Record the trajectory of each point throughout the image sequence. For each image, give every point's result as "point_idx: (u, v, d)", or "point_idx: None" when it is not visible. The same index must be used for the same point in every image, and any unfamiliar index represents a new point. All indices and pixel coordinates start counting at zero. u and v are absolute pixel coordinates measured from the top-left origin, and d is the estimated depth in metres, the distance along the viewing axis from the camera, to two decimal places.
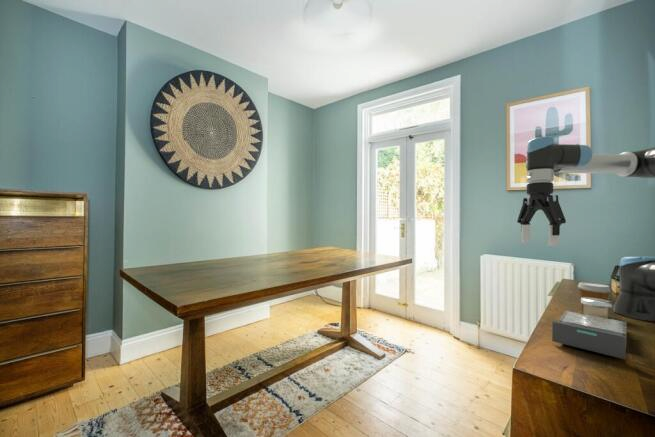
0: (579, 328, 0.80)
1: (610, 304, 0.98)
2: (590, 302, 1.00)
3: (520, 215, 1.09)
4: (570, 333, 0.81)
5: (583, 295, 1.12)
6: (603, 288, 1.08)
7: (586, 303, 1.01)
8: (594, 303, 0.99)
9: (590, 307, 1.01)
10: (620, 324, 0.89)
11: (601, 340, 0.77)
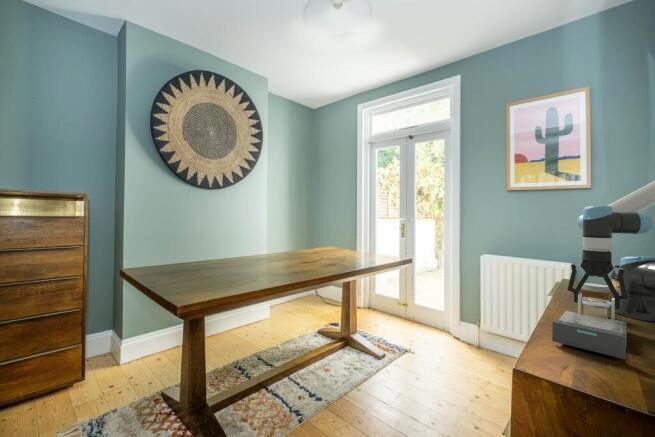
0: (579, 328, 0.80)
1: (610, 304, 0.98)
2: (590, 302, 1.00)
3: None
4: (570, 333, 0.81)
5: (583, 295, 1.12)
6: (603, 288, 1.08)
7: (586, 303, 1.01)
8: (594, 303, 0.99)
9: (590, 307, 1.01)
10: (620, 324, 0.89)
11: (601, 340, 0.77)
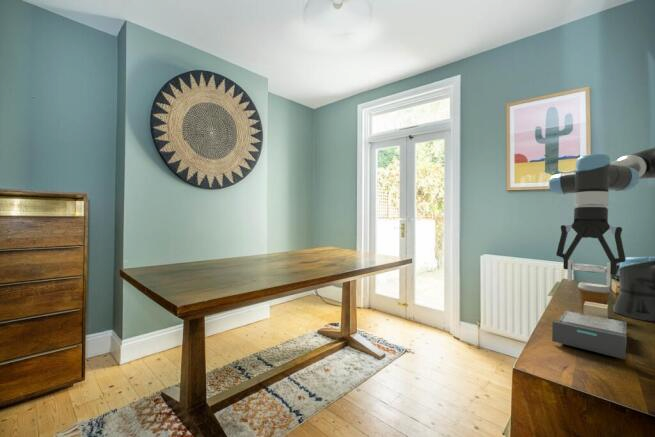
0: (579, 328, 0.80)
1: (605, 268, 0.83)
2: (581, 267, 0.85)
3: None
4: (570, 333, 0.81)
5: (583, 295, 1.12)
6: (603, 288, 1.08)
7: (577, 268, 0.86)
8: (586, 267, 0.84)
9: (590, 307, 1.01)
10: (620, 324, 0.89)
11: (601, 340, 0.77)
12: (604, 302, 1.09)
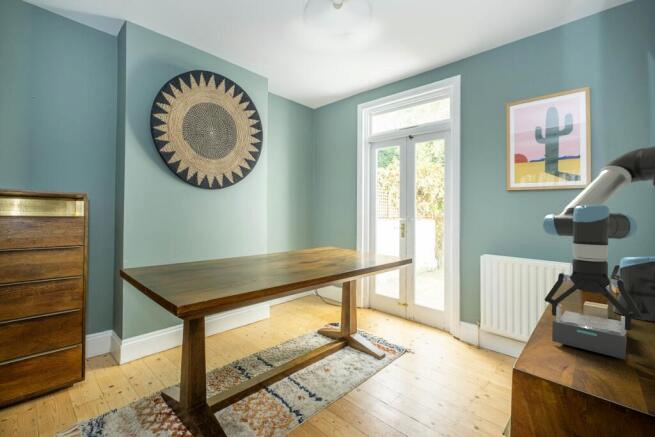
0: (579, 328, 0.80)
1: None
2: None
3: None
4: (570, 333, 0.81)
5: (583, 295, 1.12)
6: None
7: None
8: None
9: (590, 307, 1.01)
10: (620, 324, 0.89)
11: (601, 340, 0.77)
12: (604, 302, 1.09)
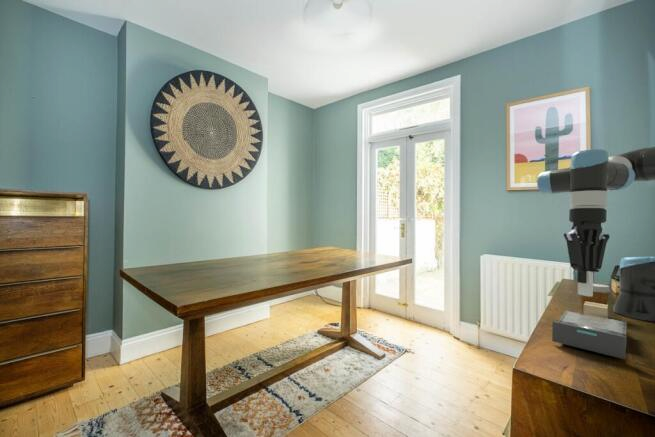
0: (579, 328, 0.80)
1: None
2: None
3: None
4: (570, 333, 0.81)
5: (583, 295, 1.12)
6: (603, 288, 1.08)
7: None
8: None
9: (590, 307, 1.01)
10: (620, 324, 0.89)
11: (601, 340, 0.77)
12: (604, 302, 1.09)
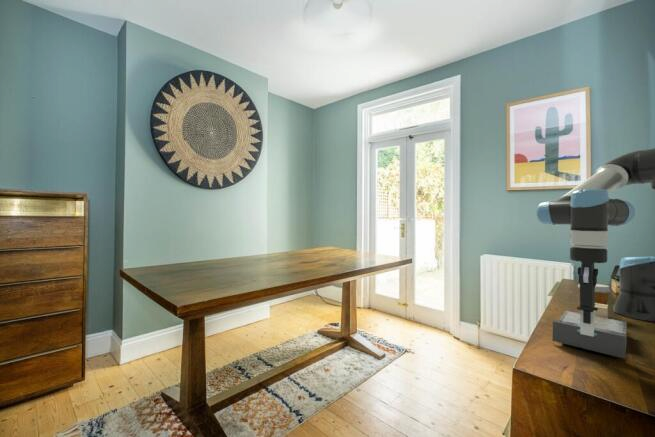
0: (579, 328, 0.80)
1: None
2: None
3: None
4: (570, 332, 0.81)
5: None
6: (603, 288, 1.08)
7: None
8: None
9: None
10: (620, 324, 0.89)
11: (601, 340, 0.77)
12: (604, 302, 1.09)
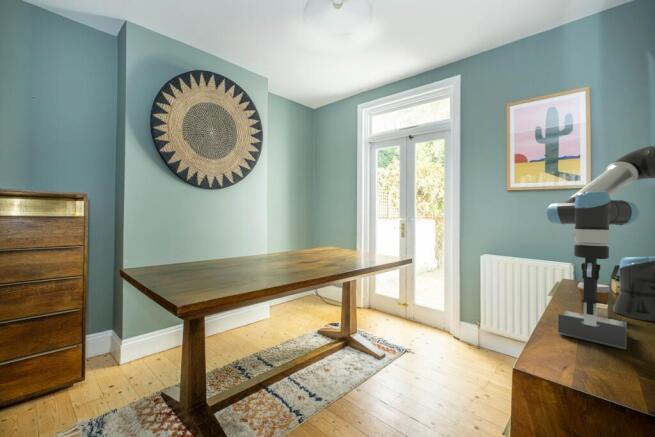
0: (583, 320, 0.87)
1: None
2: None
3: None
4: (574, 324, 0.88)
5: (583, 295, 1.12)
6: (603, 288, 1.08)
7: None
8: None
9: None
10: (620, 324, 0.89)
11: (603, 330, 0.84)
12: (604, 302, 1.09)
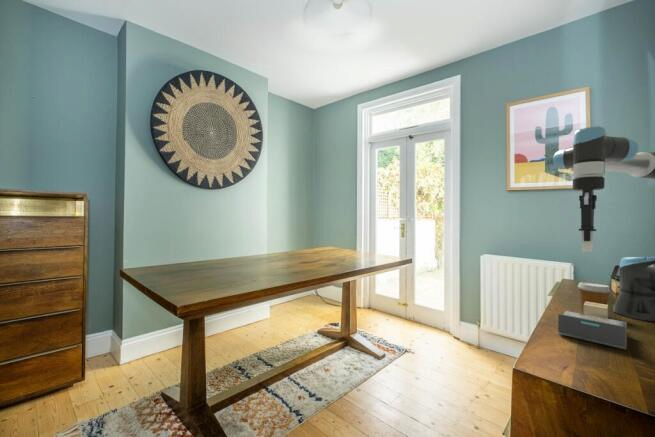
0: (583, 320, 0.87)
1: None
2: None
3: None
4: (574, 324, 0.88)
5: (583, 295, 1.12)
6: (603, 288, 1.08)
7: None
8: None
9: (590, 307, 1.01)
10: (620, 324, 0.89)
11: (603, 330, 0.84)
12: (604, 302, 1.09)
